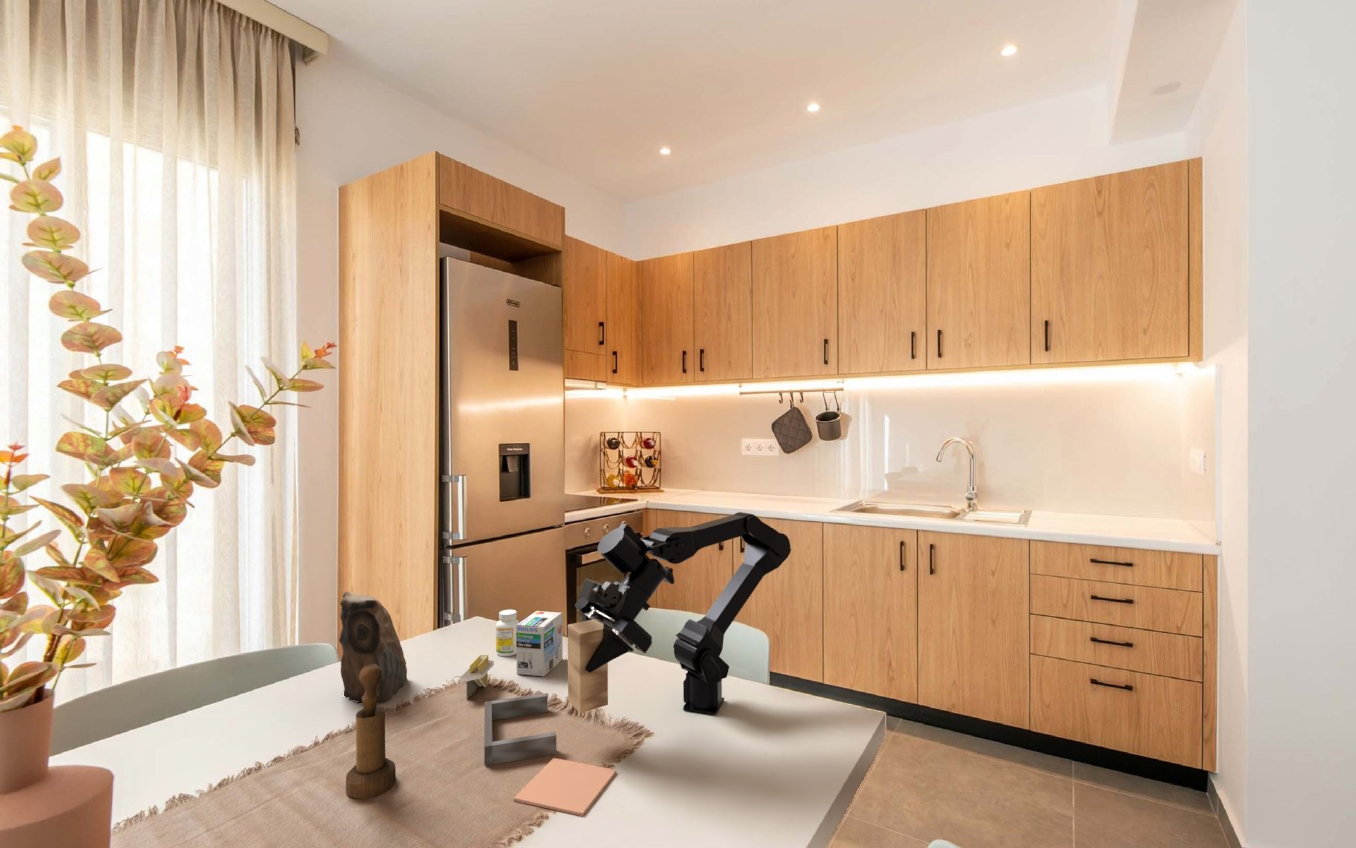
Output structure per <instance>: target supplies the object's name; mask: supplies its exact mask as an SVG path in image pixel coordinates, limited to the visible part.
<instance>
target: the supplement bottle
mask: <svg viewBox="0 0 1356 848" xmlns="http://www.w3.org/2000/svg"><path fill="white" fill-rule="evenodd" d="M517 615H518V612H517V610H515V609H504V610H501V611H499V612H498V619H499V620H498V621H497V622H496V623H495V624H496V625H495V627H496V628H495V634H496V635H495V641H496V644H495V646H496V647H495V649H496V650H495V652H496V654H497V656H500V657H511V656H515V655H517V650H516V625H517V624H519V623H520V621H519V619H517V617H518V616H517Z"/></svg>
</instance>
